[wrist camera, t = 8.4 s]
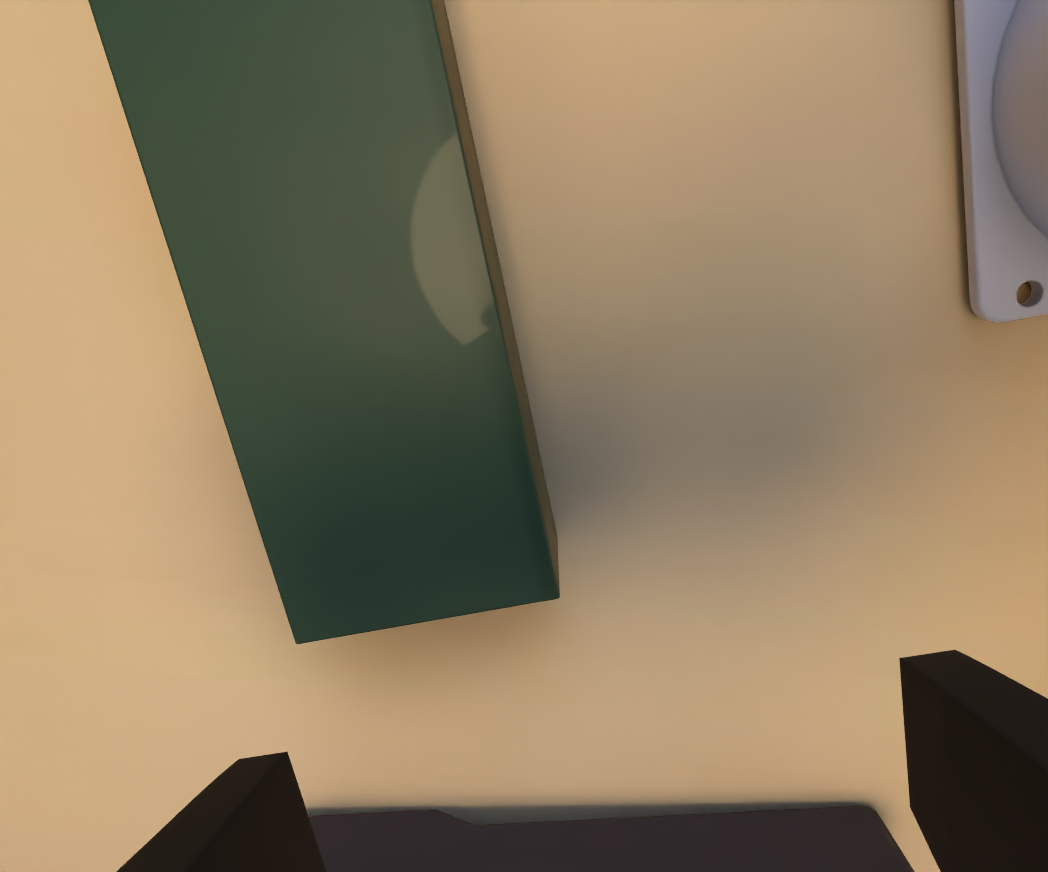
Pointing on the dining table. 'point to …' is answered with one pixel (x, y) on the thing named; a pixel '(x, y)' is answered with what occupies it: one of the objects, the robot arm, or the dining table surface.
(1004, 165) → the robot arm
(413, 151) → the book
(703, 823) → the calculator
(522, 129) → the dining table surface
